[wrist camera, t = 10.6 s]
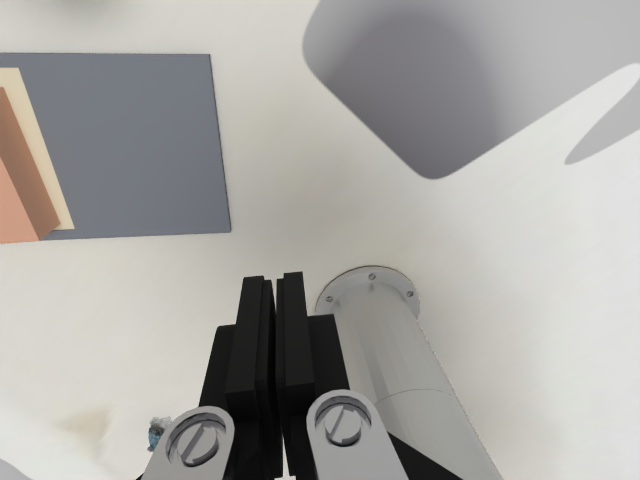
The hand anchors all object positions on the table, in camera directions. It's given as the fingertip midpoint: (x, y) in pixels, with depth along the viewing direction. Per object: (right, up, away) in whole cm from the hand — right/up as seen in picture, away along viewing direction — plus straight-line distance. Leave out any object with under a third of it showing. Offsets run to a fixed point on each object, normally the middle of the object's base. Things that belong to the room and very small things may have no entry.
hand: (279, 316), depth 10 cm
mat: (-23, +10, +21) cm, 32 cm away
